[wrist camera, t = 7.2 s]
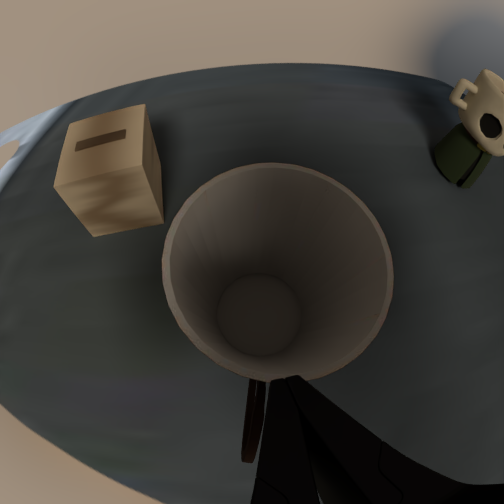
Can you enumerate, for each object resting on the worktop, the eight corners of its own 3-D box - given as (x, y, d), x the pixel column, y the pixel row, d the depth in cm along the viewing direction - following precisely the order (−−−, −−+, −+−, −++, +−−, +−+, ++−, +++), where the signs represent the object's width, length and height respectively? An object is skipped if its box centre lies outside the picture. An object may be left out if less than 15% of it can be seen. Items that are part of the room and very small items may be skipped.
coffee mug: (243, 233, 22) (252, 134, 13) (342, 298, 20) (418, 235, 11) (143, 362, 17) (66, 345, 8) (250, 438, 16) (270, 498, 7)
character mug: (416, 173, 26) (480, 81, 14) (411, 131, 29) (459, 48, 17) (487, 209, 25) (554, 143, 13) (477, 166, 28) (530, 101, 16)
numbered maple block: (91, 237, 21) (49, 186, 14) (95, 179, 23) (66, 123, 17) (164, 223, 22) (141, 163, 15) (160, 165, 24) (144, 102, 17)
